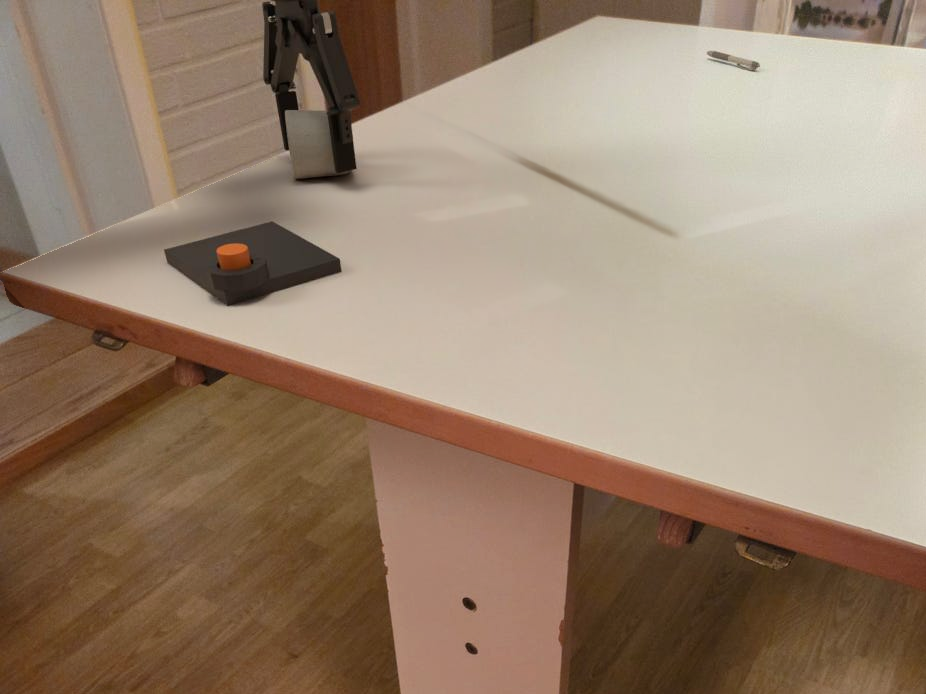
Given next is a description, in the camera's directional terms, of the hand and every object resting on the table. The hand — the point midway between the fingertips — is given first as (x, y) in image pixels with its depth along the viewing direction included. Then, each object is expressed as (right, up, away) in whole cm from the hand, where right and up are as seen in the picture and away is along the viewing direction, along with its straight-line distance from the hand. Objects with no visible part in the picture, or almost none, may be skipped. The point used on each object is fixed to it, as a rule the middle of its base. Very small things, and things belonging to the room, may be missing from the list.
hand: (319, 159), depth 114 cm
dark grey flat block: (-3, -24, -22) cm, 33 cm away
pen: (+66, +39, +40) cm, 86 cm away
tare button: (-3, -27, -29) cm, 39 cm away
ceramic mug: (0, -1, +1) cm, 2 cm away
